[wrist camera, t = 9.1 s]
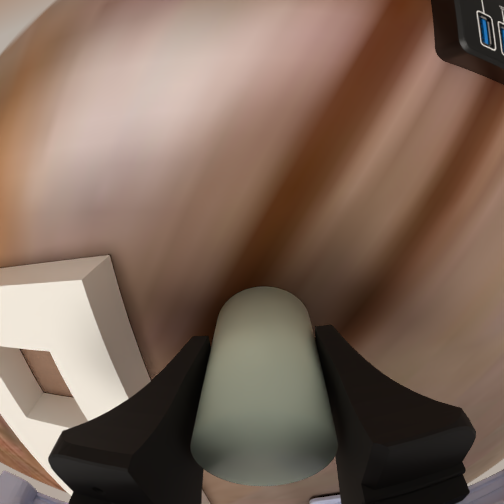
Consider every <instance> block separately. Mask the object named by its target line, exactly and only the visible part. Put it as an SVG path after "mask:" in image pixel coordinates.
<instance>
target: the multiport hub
mask: <svg viewBox="0 0 504 504" xmlns="http://www.w3.org/2000/svg"><path fill="white" fill-rule="evenodd" d="M431 4H432V12H433V23H434V35H435V49H436V53H437V55H438V56H439V57H440V58H441V59H442V60H443V61H445V62H448V63H451V64H454V65H457V66H460V67H462V68H465V69H468V70H470V71H473V72H475V73H478V74H480V75H483V76H485V77H487V78H490V79H492V80H494V81H497V82H499V83H501V84H503V85H504V0H431Z"/></svg>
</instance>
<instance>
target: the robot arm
mask: <svg viewBox="0 0 504 504" xmlns="http://www.w3.org/2000/svg"><path fill="white" fill-rule="evenodd" d="M315 342H316V346H317V350H318V354H319V359H320V363H321V367H322V371H323V376H324V380H325V385H326V389H327V394H328V398H329V403H330V407H331V412H332V417H333V421H334V426H335V431H336V436H337V441H338V449H337V453H336V455H335V457H336V464H337V471H338V479H339V488H340V495H333V496H327V497H319V498H313V499H311V500H310V503H309V504H504V469H503V470H502V471H500V472H498V473H496V474H494V475H492V476H490V477H488V478H486V479H483V480H481V481H479V482H477V483H475V484H473V485H470V486H467V483H466V481H465V479H464V476H463V474H464V473H465V467H464V465H463V463H462V461H463V459H464V458H465V456H466V455H467V453H468V451H469V450H470V448H471V446H472V444H473V442H474V440H475V437H476V431H475V429H474V427H473V426H472V424H471V422H470V420H469V418H468V417H467V415H466V414H465V413H464V411H463V410H462V408H459V407H456V406H452V405H448V404H445V403H442V402H438V401H435V400H433V399H430V398H428V397H425V396H423V395H420V394H418V393H416V392H414V391H412V390H410V389H408V388H406V387H404V386H402V385H400V384H399V383H397V382H395V381H393V380H392V379H390V378H389V377H387V376H386V375H384V374H383V373H381V372H380V371H379V370H377V369H376V368H375V367H374V366H372V365H371V364H370V363H369V362H368V361H366V360H365V359H364V358H363V357H362V356H361V355H360V354H359V353H358V352H357V351H356V350H355V349H353V348H352V347H351V346H350V345H349V343H348V342H347V341H346V340H345V339H344V338H343V337H342V336H341V335H340V334H339V333H338V331H337V330H336V329H335V328H334V327H333V326H332V325H325V326H316V327H315ZM210 350H211V346H210V342H209V337H208V336H194V337H192V338H191V339H190V340H189V341H188V343H187V344H186V345H185V346H184V347H183V348H182V349H181V351H180V352H179V353H178V354H177V355H176V356H175V357H174V358H173V359H172V361H171V362H170V363H169V364H168V365H167V366H166V367H165V368H164V369H163V370H162V371H161V372H160V373H159V374H158V375H157V376H156V377H155V378H154V379H153V380H152V381H151V382H149V383H148V384H147V385H146V386H145V387H144V388H142V389H141V390H140V391H138V392H137V393H136V394H135V395H133V396H132V397H130V398H129V399H127V400H126V401H124V402H123V403H121V404H120V405H118V406H116V407H115V408H113V409H112V410H110V411H108V412H106V413H104V414H102V415H101V416H98V417H96V418H94V419H92V420H90V421H88V422H85V423H83V424H80V425H77V426H75V427H72V428H69V429H66V430H63V431H62V433H61V434H60V436H59V438H58V440H57V442H56V444H55V445H54V447H53V449H52V451H51V453H50V455H49V457H48V462H49V464H50V466H51V468H52V470H53V471H54V472H55V473H56V474H57V476H58V477H59V478H60V479H61V480H62V481H63V482H64V483H65V484H66V485H67V486H68V487H69V488H70V489H71V490H72V491H73V494H72V496H71V499H70V501H69V503H66V502H63V501H60V500H57V499H55V498H52V497H50V496H47V495H44V494H42V493H39V492H37V490H36V489H35V488H34V487H33V486H32V485H31V484H30V483H28V482H27V481H26V480H24V479H22V478H20V477H18V476H16V475H14V474H12V473H9V472H7V471H3V472H2V474H1V475H0V504H201V503H202V480H203V468H202V467H201V466H200V465H199V464H198V463H197V462H196V461H195V459H194V457H193V456H192V453H191V448H190V445H191V439H192V434H193V429H194V424H195V420H196V415H197V410H198V405H199V401H200V396H201V391H202V387H203V382H204V378H205V373H206V368H207V364H208V359H209V355H210Z"/></svg>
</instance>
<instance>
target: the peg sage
mask: <svg viewBox="0 0 504 504" xmlns="http://www.w3.org/2000/svg"><path fill="white" fill-rule="evenodd" d="M190 448H191V453H192V456H193V457H194V459H195V461H196V462H197V463H198V464H199V465H200V466H201V467H202V468H203V469H204V470H206V471H207V472H209V473H211V474H212V475H214V476H216V477H219V478H221V479H224V480H226V481H229V482H233V483H237V484H243V485H250V486H276V485H283V484H289V483H293V482H297V481H300V480H303V479H305V478H308V477H310V476H312V475H314V474H316V473H318V472H319V471H321V470H322V469H324V468H325V467H326V466H327V465H328V464H329V463H330V462H331V461H332V460H333V458H334V457H335V455H336V453H337V449H338V441H337V436H336V431H335V426H334V421H333V417H332V412H331V407H330V403H329V398H328V394H327V389H326V385H325V380H324V376H323V371H322V367H321V363H320V359H319V354H318V350H317V346H316V342H315V337H314V333H313V329H312V325H311V321H310V317H309V313H308V311H307V309H306V307H305V306H304V304H303V303H302V302H301V301H300V300H299V299H298V298H297V297H296V296H294V295H293V294H291V293H289V292H287V291H285V290H282V289H279V288H275V287H267V286H261V287H253V288H249V289H246V290H243V291H241V292H239V293H237V294H235V295H234V296H232V297H231V298H230V299H229V300H228V301H227V302H226V303H225V304H224V306H223V307H222V309H221V310H220V313H219V315H218V319H217V324H216V328H215V332H214V337H213V341H212V346H211V350H210V355H209V359H208V364H207V368H206V373H205V378H204V382H203V387H202V391H201V396H200V401H199V405H198V410H197V415H196V420H195V424H194V429H193V434H192V439H191V445H190Z"/></svg>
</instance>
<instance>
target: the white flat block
mask: <svg viewBox="0 0 504 504" xmlns="http://www.w3.org/2000/svg"><path fill="white" fill-rule="evenodd" d="M19 348H20V349H30V350H40V351H50V353H51V355H52V357H53V359H54V361H55V363H56V365H57V367H58V369H59V371H60V373H61V375H62V377H63V379H64V381H65V382H66V384H67V386H68V388H69V390H70V392H71V393H72V395H73V397H74V398H73V397H66V396H60V395H54V394H48V393H43V391H42V390H41V388H40V386H39V384H38V383H37V381H36V379H35V377H34V376H33V374H32V372H31V370H30V368H29V366H28V364H27V363H26V361H25V359H24V357H23V355H22V353H21V351H20V349H19ZM149 382H151V380H150V377H149V375H148V372H147V370H146V367H145V364H144V362H143V359H142V356H141V354H140V351H139V348H138V345H137V343H136V340H135V337H134V334H133V331H132V328H131V325H130V322H129V319H128V316H127V313H126V310H125V307H124V303H123V300H122V297H121V294H120V290H119V287H118V283H117V280H116V276H115V273H114V269H113V265H112V262H111V258H110V255H104V256H96V257H87V258H79V259H71V260H62V261H54V262H46V263H38V264H30V265H22V266H14V267H6V268H0V414H1V415H2V417H3V418H4V419H5V421H6V422H7V424H8V425H9V426H10V428H11V429H12V430H13V432H14V433H15V434H16V436H17V437H18V438H19V439H20V441H21V442H22V443H23V444H24V446H25V447H26V448H27V449H28V450H29V452H30V453H31V454H32V455H33V456H34V458H35V459H36V460H37V461H38V462H39V463H40V464H41V465H42V467H43V468H44V469H45V470H46V471H47V472H48V473H49V474H50V475H51V476H52V477H53V478H54V479H55V480H56V482H57V483H58V484H59V485H60V486H61V487H62V488H63V489H64V490H65V491H66V492H67V493H69V494H70V495H71V496H72V494H73V491H72V490H71V489H70V488H69V487H68V486H67V485H66V484H65V483H64V482H63V481H62V480H61V479H60V478H59V477H58V476H57V474H56V473H55V472H54V471H53V470H52V468H51V466H50V464H49V462H48V457H49V455H50V453H51V451H52V449H53V447H54V445H55V444H56V442H57V440H58V438H59V436H60V434H61V433H62V431H63V430H66V429H69V428H72V427H75V426H77V425H80V424H83V423H85V422H88V421H90V420H92V419H94V418H96V417H98V416H101V415H102V414H104V413H106V412H108V411H110V410H112V409H113V408H115V407H116V406H118V405H120V404H121V403H123V402H124V401H126V400H127V399H129V398H130V397H132V396H133V395H135V394H136V393H137V392H138V391H140V390H141V389H142V388H144V387H145V386H146V385H147V384H148V383H149ZM201 504H210V502H209V500H208V499H207V497H206V495H205V493H204V492H203V490H202V503H201Z"/></svg>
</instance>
